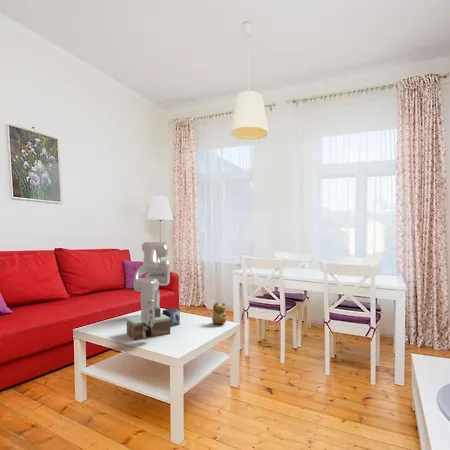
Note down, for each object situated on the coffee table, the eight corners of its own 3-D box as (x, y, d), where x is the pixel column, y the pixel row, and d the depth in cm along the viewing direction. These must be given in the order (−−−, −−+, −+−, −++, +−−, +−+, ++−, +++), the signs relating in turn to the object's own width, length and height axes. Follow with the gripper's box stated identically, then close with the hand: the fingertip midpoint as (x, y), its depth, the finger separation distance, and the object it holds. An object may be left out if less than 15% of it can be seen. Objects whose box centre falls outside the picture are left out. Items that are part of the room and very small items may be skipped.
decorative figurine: (226, 322, 219) (227, 300, 220) (225, 326, 211) (225, 303, 211) (212, 322, 221) (213, 300, 221) (210, 325, 212) (211, 303, 213)
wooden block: (149, 335, 183) (149, 324, 183) (152, 337, 179) (152, 326, 179) (142, 336, 181) (142, 325, 181) (144, 338, 177) (145, 327, 177)
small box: (168, 328, 206) (168, 311, 206) (161, 326, 210) (161, 310, 210) (180, 324, 215) (180, 308, 215) (173, 322, 219) (173, 307, 219)
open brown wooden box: (126, 333, 194) (126, 320, 194) (160, 327, 206) (161, 315, 206) (134, 340, 182) (134, 326, 182) (170, 333, 195) (170, 320, 195)
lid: (126, 320, 194) (126, 309, 194) (160, 315, 207) (160, 304, 207) (135, 326, 183) (135, 314, 183) (170, 320, 196) (170, 309, 196)
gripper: (159, 305, 176) (159, 338, 175) (148, 299, 189) (147, 330, 189) (146, 306, 171) (146, 341, 171) (135, 300, 185) (135, 332, 185)
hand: (147, 335), depth 180 cm, fingers closed on wooden block, 4 cm apart
